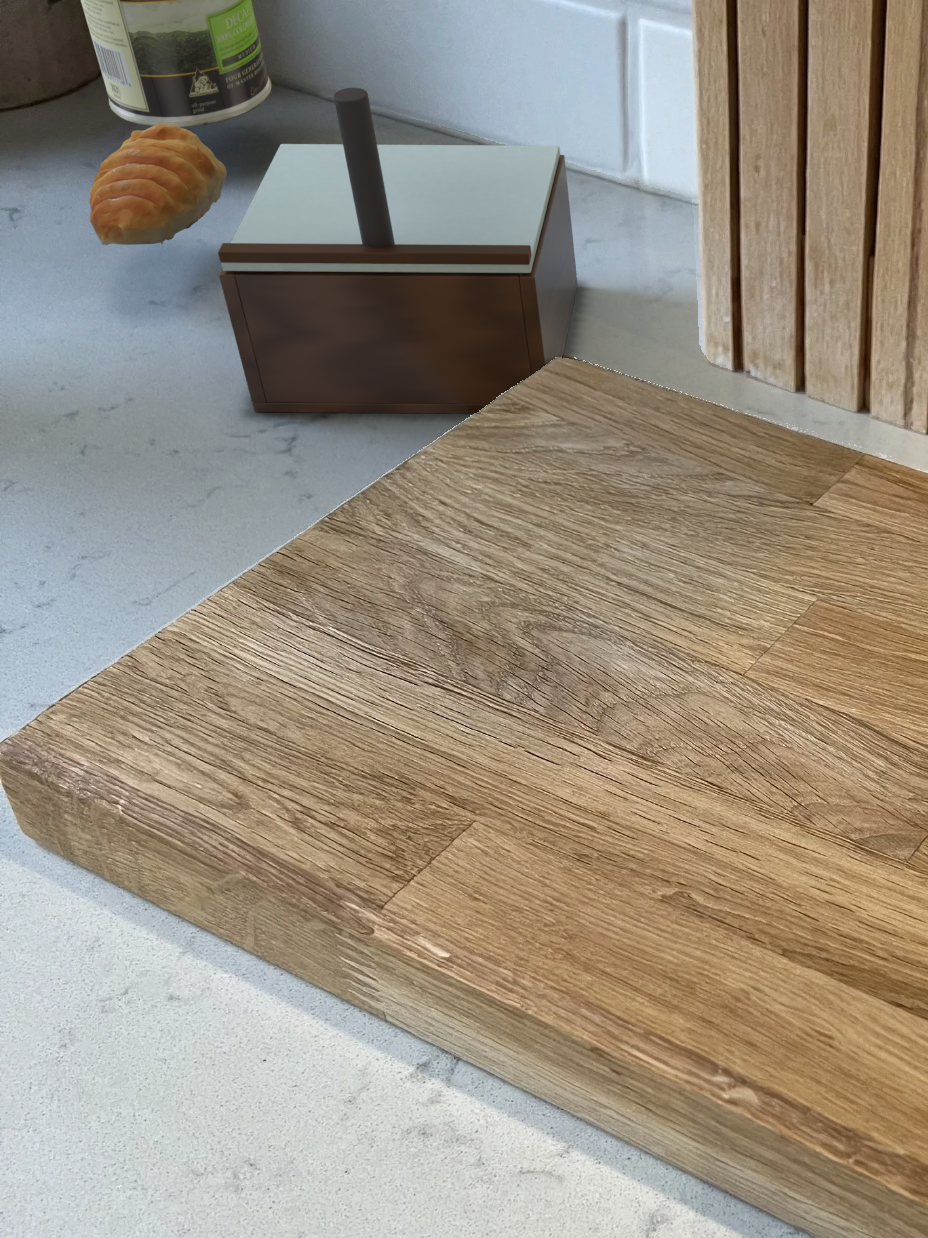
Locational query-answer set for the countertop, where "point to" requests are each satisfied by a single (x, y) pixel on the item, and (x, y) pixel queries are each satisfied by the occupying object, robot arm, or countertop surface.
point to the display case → (404, 330)
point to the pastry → (154, 186)
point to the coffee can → (178, 59)
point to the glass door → (394, 205)
